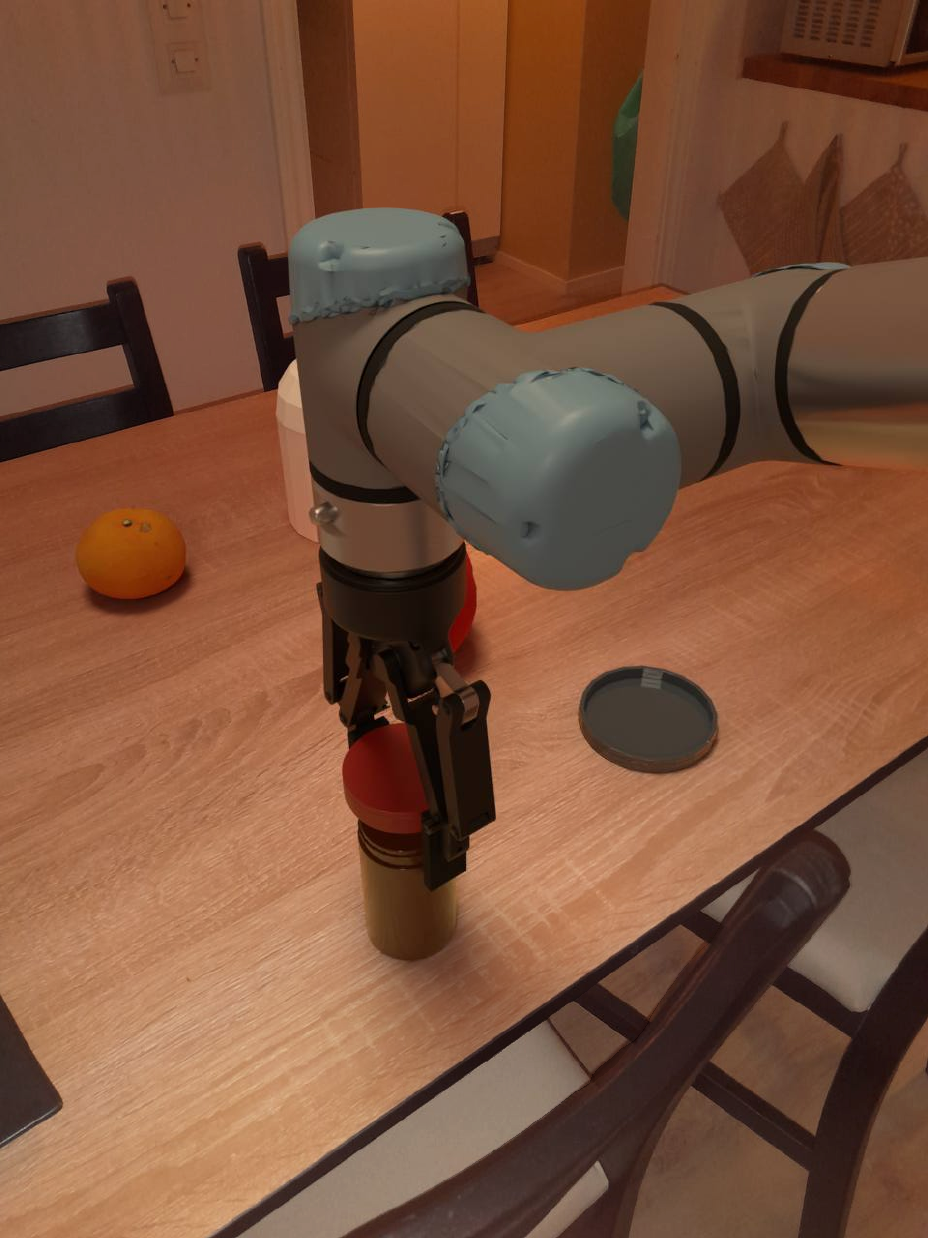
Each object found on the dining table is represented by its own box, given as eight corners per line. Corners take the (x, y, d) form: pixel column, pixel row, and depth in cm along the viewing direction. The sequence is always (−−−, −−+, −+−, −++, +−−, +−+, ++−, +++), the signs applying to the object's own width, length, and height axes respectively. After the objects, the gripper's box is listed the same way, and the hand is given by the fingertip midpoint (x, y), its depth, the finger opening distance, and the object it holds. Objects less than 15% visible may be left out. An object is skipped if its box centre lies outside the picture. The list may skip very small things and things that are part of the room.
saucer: (742, 749, 82) (745, 736, 81) (621, 789, 79) (623, 776, 78) (667, 665, 91) (669, 653, 90) (555, 698, 87) (556, 685, 86)
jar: (474, 923, 69) (476, 816, 62) (405, 978, 65) (399, 872, 58) (416, 868, 72) (411, 762, 65) (348, 918, 69) (335, 811, 62)
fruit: (157, 623, 96) (141, 556, 91) (66, 603, 98) (45, 537, 93) (210, 565, 103) (198, 501, 98) (124, 548, 106) (108, 485, 101)
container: (395, 549, 106) (387, 378, 94) (275, 542, 107) (252, 372, 95) (412, 487, 116) (407, 325, 104) (303, 481, 117) (285, 320, 105)
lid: (481, 756, 62) (481, 736, 61) (444, 847, 56) (444, 826, 55) (371, 732, 64) (369, 712, 63) (324, 817, 58) (321, 796, 57)
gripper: (234, 480, 54) (282, 768, 68) (450, 675, 41) (454, 981, 55) (350, 443, 57) (373, 723, 71) (583, 611, 44) (555, 913, 58)
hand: (408, 835), depth 63 cm, fingers closed on lid, 8 cm apart
